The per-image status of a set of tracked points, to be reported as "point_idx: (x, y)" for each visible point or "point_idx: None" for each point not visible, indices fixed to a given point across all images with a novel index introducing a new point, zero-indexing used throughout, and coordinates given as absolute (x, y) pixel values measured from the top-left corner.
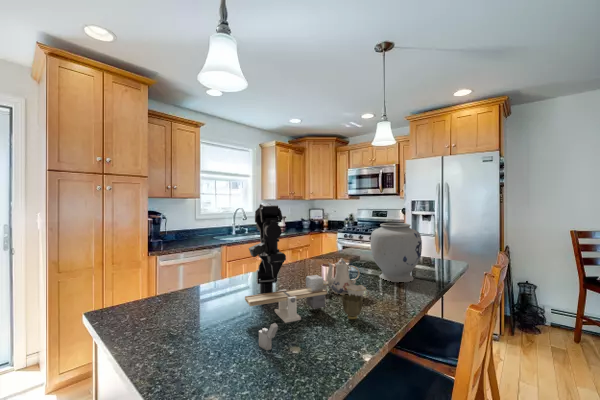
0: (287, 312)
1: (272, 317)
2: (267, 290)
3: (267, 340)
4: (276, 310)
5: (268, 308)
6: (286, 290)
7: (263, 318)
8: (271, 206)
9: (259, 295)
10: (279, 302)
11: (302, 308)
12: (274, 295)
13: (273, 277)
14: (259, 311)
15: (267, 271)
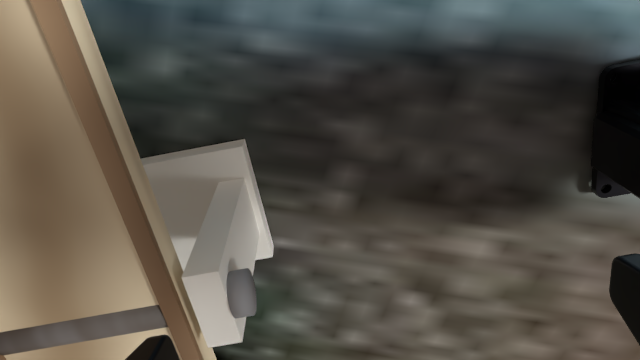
0: None
1: (132, 105)
2: (634, 148)
3: None
4: (213, 156)
5: (339, 99)
6: (189, 343)
7: (117, 28)
8: None
9: (38, 11)
10: (211, 210)
11: (272, 325)
12: (35, 204)
13: (140, 348)
14: (288, 10)
15: (630, 299)
